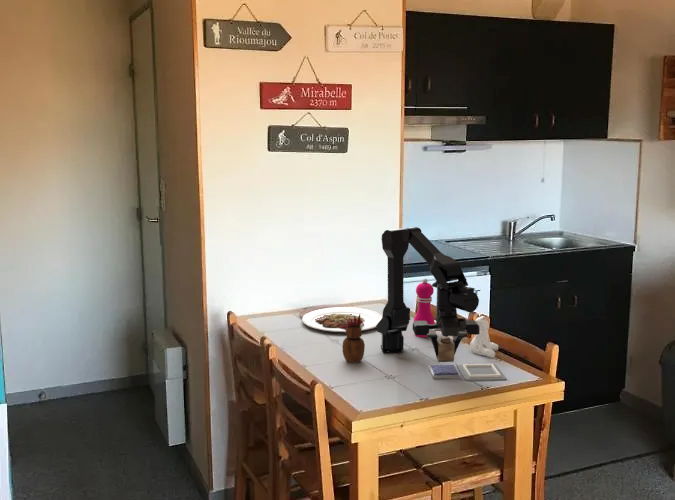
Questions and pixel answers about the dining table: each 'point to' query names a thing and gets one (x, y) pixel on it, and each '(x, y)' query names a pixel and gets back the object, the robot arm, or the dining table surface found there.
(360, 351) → the wooden figurine
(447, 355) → the stamp
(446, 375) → the ink pad
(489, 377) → the board
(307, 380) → the dining table surface
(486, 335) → the seated beast figurine
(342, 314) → the plated food
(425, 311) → the pepper mill
